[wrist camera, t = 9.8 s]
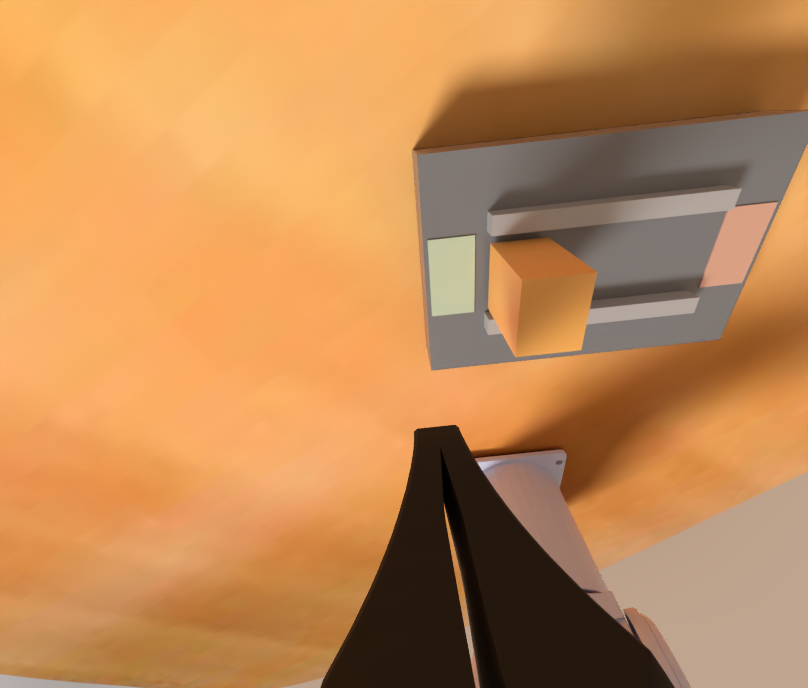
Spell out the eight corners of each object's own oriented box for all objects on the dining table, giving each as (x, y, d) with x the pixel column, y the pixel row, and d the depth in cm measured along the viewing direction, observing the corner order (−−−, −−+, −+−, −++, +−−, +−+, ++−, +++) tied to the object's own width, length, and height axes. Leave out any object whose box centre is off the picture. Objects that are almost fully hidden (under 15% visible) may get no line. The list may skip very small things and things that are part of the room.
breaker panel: (684, 317, 21) (732, 348, 18) (426, 344, 21) (433, 379, 18) (761, 111, 15) (846, 109, 12) (412, 149, 15) (418, 156, 13)
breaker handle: (539, 302, 16) (581, 350, 13) (487, 308, 16) (515, 357, 13) (548, 236, 15) (597, 272, 11) (490, 243, 15) (522, 280, 11)
